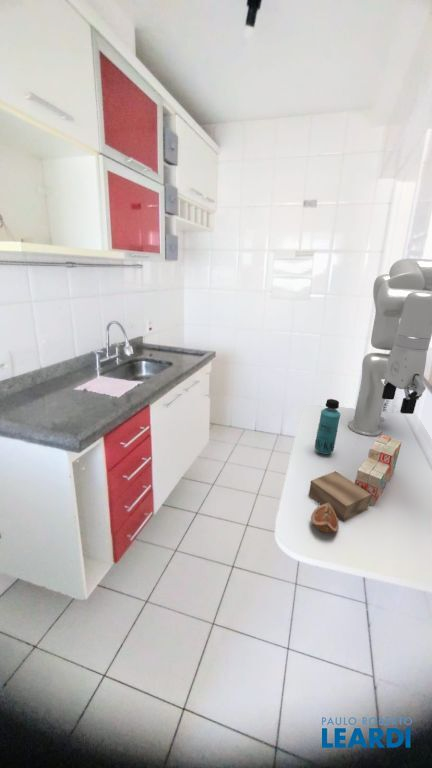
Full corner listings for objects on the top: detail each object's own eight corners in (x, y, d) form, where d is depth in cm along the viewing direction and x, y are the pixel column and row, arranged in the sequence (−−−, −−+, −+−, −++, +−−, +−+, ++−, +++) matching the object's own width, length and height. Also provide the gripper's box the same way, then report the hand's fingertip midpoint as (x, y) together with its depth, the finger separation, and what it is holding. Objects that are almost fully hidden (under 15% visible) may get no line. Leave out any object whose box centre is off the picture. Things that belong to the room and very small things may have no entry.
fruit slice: (336, 544, 81) (340, 527, 79) (307, 535, 83) (310, 518, 81) (338, 521, 88) (341, 505, 86) (311, 513, 90) (314, 498, 88)
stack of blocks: (373, 507, 94) (383, 469, 90) (351, 497, 97) (359, 460, 93) (393, 474, 109) (402, 440, 105) (373, 466, 113) (381, 433, 109)
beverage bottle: (314, 446, 123) (322, 395, 117) (333, 450, 121) (343, 398, 115) (312, 455, 118) (321, 402, 111) (333, 460, 116) (343, 405, 109)
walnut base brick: (332, 485, 102) (335, 471, 100) (367, 509, 93) (371, 494, 91) (308, 495, 97) (311, 480, 95) (342, 522, 88) (346, 506, 86)
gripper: (381, 335, 94) (368, 393, 99) (416, 350, 78) (399, 418, 83) (407, 336, 94) (393, 394, 100) (449, 351, 78) (429, 420, 83)
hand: (396, 405), depth 91 cm, fingers open, 9 cm apart
